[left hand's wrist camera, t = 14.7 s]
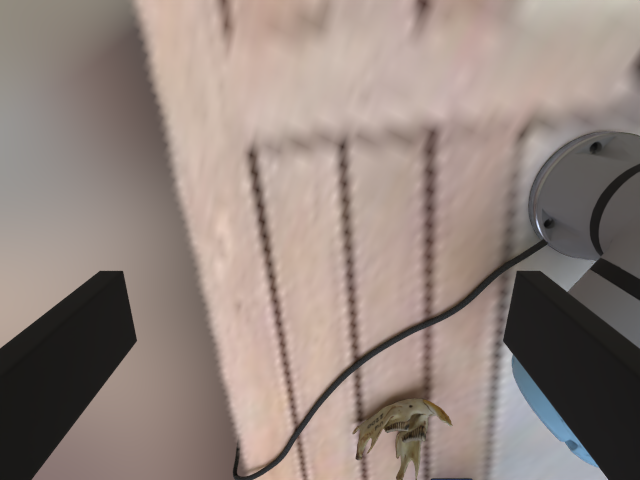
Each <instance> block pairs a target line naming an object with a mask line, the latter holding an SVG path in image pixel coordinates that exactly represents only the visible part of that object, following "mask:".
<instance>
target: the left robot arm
mask: <svg viewBox="0 0 640 480" xmlns="http://www.w3.org/2000/svg"><path fill="white" fill-rule="evenodd" d="M529 216H530V221H531V224H532V226H533V228H534V231H535V232H536V234H537V235H538V236H539V238H540V239H541V240H542V241H540V242H539V243H537V244H536V245H534V246H533V247H531V248H530V249H528V250H526V251H525V252H523V253H522V254H520V255H519V256H517V257H515V258H514V259H512V260H510V261H509V262H507V263H506V264H504V265H503V266H501V267H500V268H498V269H497V270H496V271H495V272H493V273H492V274H491V275H490V276H489V277H488V278H487V279H485V280H484V281H483V282H482V283H481V284H480V285H479V286H478V287H477V288H476V289H475V290H474V291H473V292H472V293H471V294H470V295H469V296H468V297H467V298H466V299H464V300H463V301H462V302H461V303H459V304H458V305H456V306H455V307H453V308H452V309H450V310H449V311H447V312H445V313H443V314H441V315H439V316H437V317H435V318H433V319H431V320H428V321H426V322H424V323H421V324H419V325H417V326H415V327H412V328H410V329H408V330H406V331H405V332H403V333H401V334H399V335H397V336H396V337H394V338H392V339H390V340H389V341H387V342H385V343H384V344H382V345H380V346H379V347H377V348H376V349H374V350H373V351H371V352H370V353H368V354H367V355H365V356H364V357H363V358H361V359H360V360H359V361H357V362H356V363H355V364H354V365H353V366H351V367H350V368H349V369H348V370H347V371H346V372H344V373H343V374H342V375H341V376H340V377H339V378H338V379H337V380H336V381H335V382H334V383H333V384H332V385H331V386H330V388H329V389H328V390H327V391H326V392H325V393H324V394H323V395H322V397H321V398H320V399H319V400H318V401H317V403H316V404H315V405H314V406H313V408H312V409H311V410H310V412H309V413H308V415H307V416H306V418H305V419H304V420H303V422H302V423H301V425H300V426H299V427H298V429H297V430H296V432H295V433H294V434H293V436H292V437H291V439H290V441H289V442H288V444H287V446H286V448H285V449H284V451H283V452H282V453H281V454H280V456H279V457H278V458H277V459H276V460H274V461H273V462H272V463H270V464H269V465H268V466H266V467H265V468H263V469H262V470H260V471H258V472H256V473H254V474H252V475H250V476H246V477H241V476H238V474H237V469H238V463H239V457H240V448H241V441H240V439H239V435H238V441H237V447H236V456H235V462H234V467H233V477H234V479H235V480H253V479H255V478H257V477H259V476H261V475H263V474H264V473H266V472H267V471H269V470H270V469H272V468H273V467H274V466H276V465H277V464H278V463H279V462H280V461H281V460H282V459H283V458H284V457H285V456H286V455H287V453H288V452H289V450H290V448H291V447H292V445H293V443H294V442H295V440H296V439H297V437H298V436H299V434H300V433H301V432H302V430H303V429H304V428H305V426H306V425H307V423H308V422H309V421H310V419H311V418H312V416H313V415H314V413H315V412H316V411H317V410H318V408H319V407H320V406H321V404H322V403H323V402H324V401H325V400H326V399H327V398H328V396H329V395H330V394H331V393H332V392H333V391H334V390H335V389H336V388H337V387H338V386H339V385H340V384H341V383H342V382H343V381H344V380H345V379H346V378H347V377H348V376H349V375H350V374H351V373H352V372H354V371H355V370H356V369H357V368H359V367H360V366H361V365H362V364H364V363H365V362H366V361H368V360H369V359H370V358H372V357H373V356H375V355H376V354H378V353H379V352H381V351H383V350H384V349H386V348H388V347H389V346H391V345H393V344H394V343H396V342H398V341H400V340H402V339H403V338H405V337H407V336H409V335H411V334H413V333H415V332H417V331H419V330H421V329H424V328H426V327H428V326H431V325H433V324H435V323H438V322H440V321H442V320H444V319H446V318H448V317H450V316H451V315H453V314H455V313H456V312H458V311H459V310H461V309H462V308H463V307H465V306H466V305H467V304H469V303H470V302H471V301H472V300H473V299H474V298H475V297H476V296H478V295H479V294H480V293H481V292H482V291H483V290H484V289H485V288H486V287H487V286H488V285H489V284H490V283H491V282H492V281H493V280H494V279H495V278H497V277H498V276H499V275H500V274H502V273H503V272H504V271H506V270H507V269H509V268H510V267H512V266H514V265H515V264H517V263H519V262H520V261H522V260H524V259H525V258H527V257H528V256H530V255H532V254H533V253H535V252H536V251H538V250H539V249H541V248H542V247H544V246H545V245H549V246H550V247H552V248H553V249H555V250H556V251H558V252H560V253H562V254H564V255H567V256H570V257H574V258H581V259H588V260H595V261H596V263H595V264H594V265H593V266H592V267H591V268H590V269H589V270H588V271H587V272H586V273H585V274H584V275H583V276H582V277H581V278H580V279H579V281H578V282H577V283H576V284H575V285H574V286H573V287H572V288H571V289H570V290H569V291H568V292H566V291H565V290H564V289H563V288H561V287H560V286H559V285H557V284H556V283H555V282H554V281H552V280H551V279H550V278H548V277H547V276H546V275H545V274H543V273H542V272H541V271H517V274H516V279H515V284H514V289H513V294H512V299H511V304H510V309H509V314H508V319H507V324H506V329H505V334H504V339H503V341H504V343H505V344H506V345H507V347H508V348H509V349H510V351H511V352H512V353H513V356H512V368H513V375H514V378H515V380H516V383H517V385H518V387H519V389H520V391H521V393H522V394H523V396H524V398H525V399H526V401H527V402H528V404H529V405H530V407H531V408H532V409H533V411H534V412H535V413H536V415H537V416H538V417H539V418H540V420H541V421H542V422H543V423H544V424H545V426H546V427H547V428H548V429H549V430H550V431H551V432H552V433H553V434H554V436H555V437H556V438H558V439H559V440H560V441H562V442H565V443H566V445H567V446H568V447H569V449H570V450H571V451H572V452H573V453H574V454H575V455H577V456H578V457H579V458H581V459H582V460H583V461H585V462H587V463H589V464H591V465H593V466H595V467H599V468H600V469H601V470H602V472H603V473H604V474H605V476H606V477H607V478H608V480H640V136H638V135H635V134H631V133H622V132H613V131H605V132H597V133H592V134H588V135H585V136H582V137H580V138H578V139H576V140H573V141H572V142H570V143H568V144H567V145H565V146H564V147H562V148H561V149H560V150H558V151H557V152H556V153H555V154H554V155H553V156H552V157H551V158H550V159H549V160H548V161H547V162H546V164H545V165H544V166H543V168H542V169H541V170H540V172H539V174H538V175H537V177H536V179H535V181H534V184H533V186H532V190H531V193H530V198H529ZM598 274H599V275H598ZM136 341H137V339H136V334H135V329H134V324H133V319H132V314H131V309H130V304H129V299H128V294H127V289H126V284H125V279H124V274H123V271H99V272H98V273H97V274H95V275H94V276H93V277H92V278H90V279H89V280H88V281H86V282H85V283H84V284H83V285H81V286H80V287H79V288H77V289H76V290H75V291H74V292H72V293H71V294H70V295H68V296H67V297H66V298H65V299H63V300H62V301H61V302H59V303H58V304H57V305H56V306H54V307H53V308H52V309H50V310H49V311H48V312H47V313H45V314H44V315H43V316H41V317H40V318H39V319H38V320H36V321H35V322H34V323H32V324H31V325H30V326H29V327H27V328H26V329H25V330H23V331H22V332H21V333H20V334H18V335H17V336H16V337H14V338H13V339H12V340H11V341H9V342H8V343H7V344H5V345H4V346H3V347H2V348H0V480H32V478H33V477H34V476H35V474H36V473H37V472H38V470H39V469H40V468H41V467H42V465H43V464H44V463H45V461H46V460H47V459H48V457H49V456H50V455H51V453H52V452H53V451H54V449H55V448H56V447H57V445H58V444H59V443H60V441H61V440H62V439H63V438H64V436H65V435H66V434H67V432H68V431H69V430H70V428H71V427H72V426H73V424H74V423H75V422H76V420H77V419H78V418H79V416H80V415H81V414H82V413H83V411H84V410H85V409H86V407H87V406H88V405H89V403H90V402H91V401H92V399H93V398H94V397H95V395H96V394H97V393H98V391H99V390H100V389H101V388H102V386H103V385H104V384H105V382H106V381H107V380H108V378H109V377H110V376H111V374H112V373H113V372H114V370H115V369H116V368H117V366H118V365H119V364H120V362H121V361H122V360H123V358H124V357H125V356H126V355H127V353H128V352H129V351H130V349H131V348H132V347H133V345H134V344H135V343H136Z"/></svg>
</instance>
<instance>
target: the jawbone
mask: <svg viewBox="0 0 640 480" xmlns="http://www.w3.org/2000/svg"><path fill="white" fill-rule="evenodd" d="M435 415H436V416H438V417H439V418H440V420H441V421H443V422H445V423H447V424H448V425H449V426H453V425H452V424H451V420H450V419H449V416H447V414H446V413H445V412H444V411H443V410H442V409H441V408H440V407H438V406H436V405H435V404H433V403H431V402H429V401H427V400H425V399H418V398H415V399H406V400H402V401H399V402H396V403H394V404H392V405H389V406H386V407H384V408H383V409H382V410H380V411H379V412H378V413H377V414H376V415H374V416H373V417H371V418H369V419H368V420H366V421H365V422H364V423H362V424H361V425H359V426H357V427H356V429H355V430H354V431H353V433H352V434H355V433H356V432H357V430H358V429H360V435H359V441H358V444H357V454H356V459H357V460H361V459H362V455H363V451H364V448H365V446H366V444H367V442H368V441H369V439H370V438H372V443H371V447H370V449H369V451H368V452H367V454H368V453H369V452H370V450H371V449H372V448H373V446H374V445H375V443H376V441H377V439H378V437H379V435H380V433H381V432H382V429H384V430H385V432H387V433H388V432H393V431H400V433H399V434H398V435H397V437H396V457H397V459H398V458H399V456H400V455H401V467H400V470H399V472H398V474H397V477H396V479H397V480H403V477H404V473H405V471H406V468H407V466H408V463H409V462H410V461H411V460H412V461H413V462H414V465H415V476H416V480H417V475H418V470H419V464H420V449H421V441H424V442H425V438H426V433H427V428H428V417H429V416H435Z"/></svg>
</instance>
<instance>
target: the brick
mask: <svg viewBox="0 0 640 480" xmlns="http://www.w3.org/2000/svg"><path fill="white" fill-rule="evenodd" d="M431 480H472V479H431Z"/></svg>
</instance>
